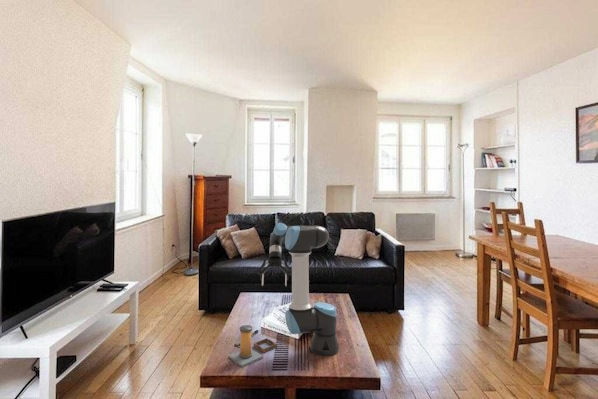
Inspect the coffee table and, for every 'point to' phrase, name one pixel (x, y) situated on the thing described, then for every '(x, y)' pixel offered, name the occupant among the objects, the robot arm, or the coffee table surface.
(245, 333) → the orange grey capped cylinder
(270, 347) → the square wooden frame
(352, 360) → the coffee table surface
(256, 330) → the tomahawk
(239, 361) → the rubber mat
